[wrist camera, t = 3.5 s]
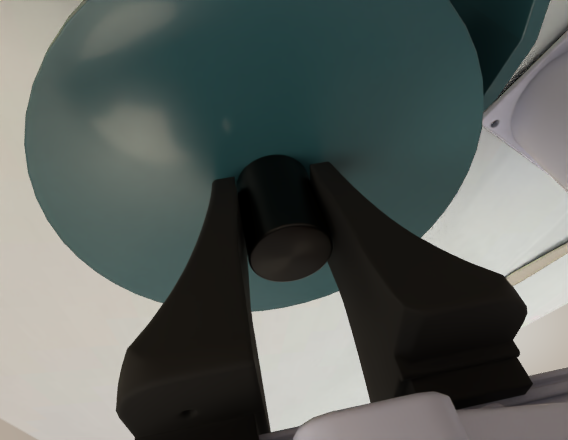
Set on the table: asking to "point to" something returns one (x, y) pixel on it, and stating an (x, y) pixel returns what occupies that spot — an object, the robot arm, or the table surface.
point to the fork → (537, 265)
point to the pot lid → (246, 129)
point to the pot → (501, 37)
